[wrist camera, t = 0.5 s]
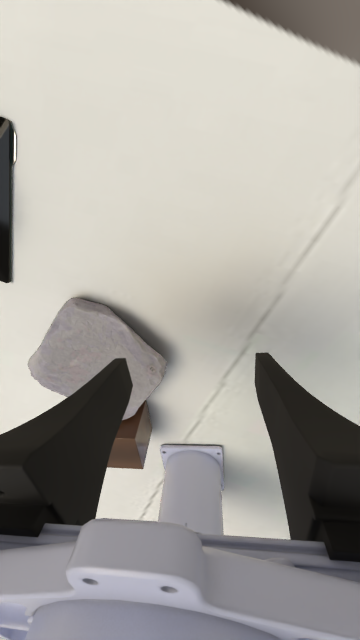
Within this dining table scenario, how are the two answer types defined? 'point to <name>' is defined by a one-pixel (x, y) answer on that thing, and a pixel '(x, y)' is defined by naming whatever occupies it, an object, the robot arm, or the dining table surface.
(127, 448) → the walnut cube
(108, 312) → the stone block
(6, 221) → the build plate
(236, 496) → the dining table surface
